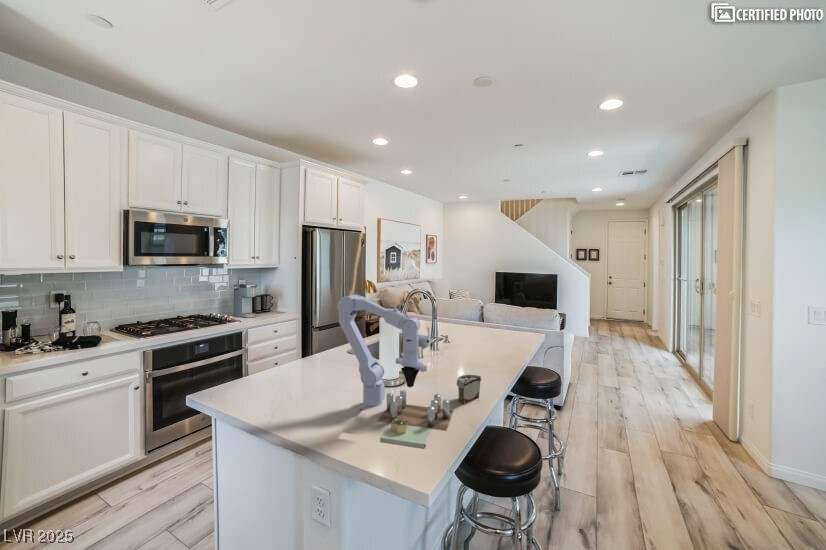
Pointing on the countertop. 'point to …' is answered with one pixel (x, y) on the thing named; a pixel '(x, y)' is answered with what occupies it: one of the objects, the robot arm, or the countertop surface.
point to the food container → (468, 388)
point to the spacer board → (418, 417)
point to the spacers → (433, 410)
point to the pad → (407, 437)
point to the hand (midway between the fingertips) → (410, 386)
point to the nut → (399, 426)
